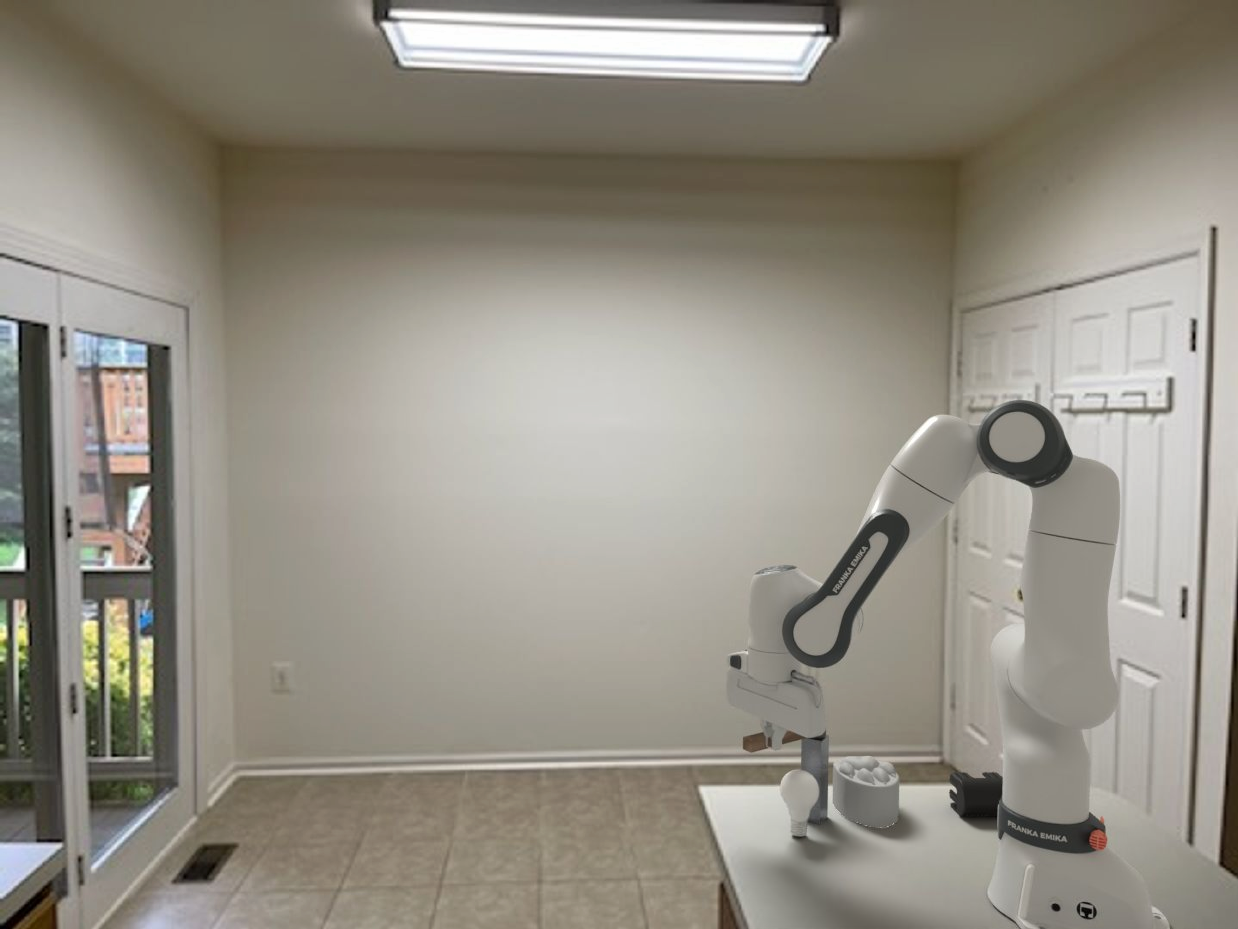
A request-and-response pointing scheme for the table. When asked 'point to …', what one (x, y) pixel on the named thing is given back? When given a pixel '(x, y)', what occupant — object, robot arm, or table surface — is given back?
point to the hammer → (759, 740)
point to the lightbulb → (799, 798)
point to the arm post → (817, 773)
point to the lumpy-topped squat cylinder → (866, 790)
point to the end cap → (976, 794)
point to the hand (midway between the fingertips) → (773, 748)
